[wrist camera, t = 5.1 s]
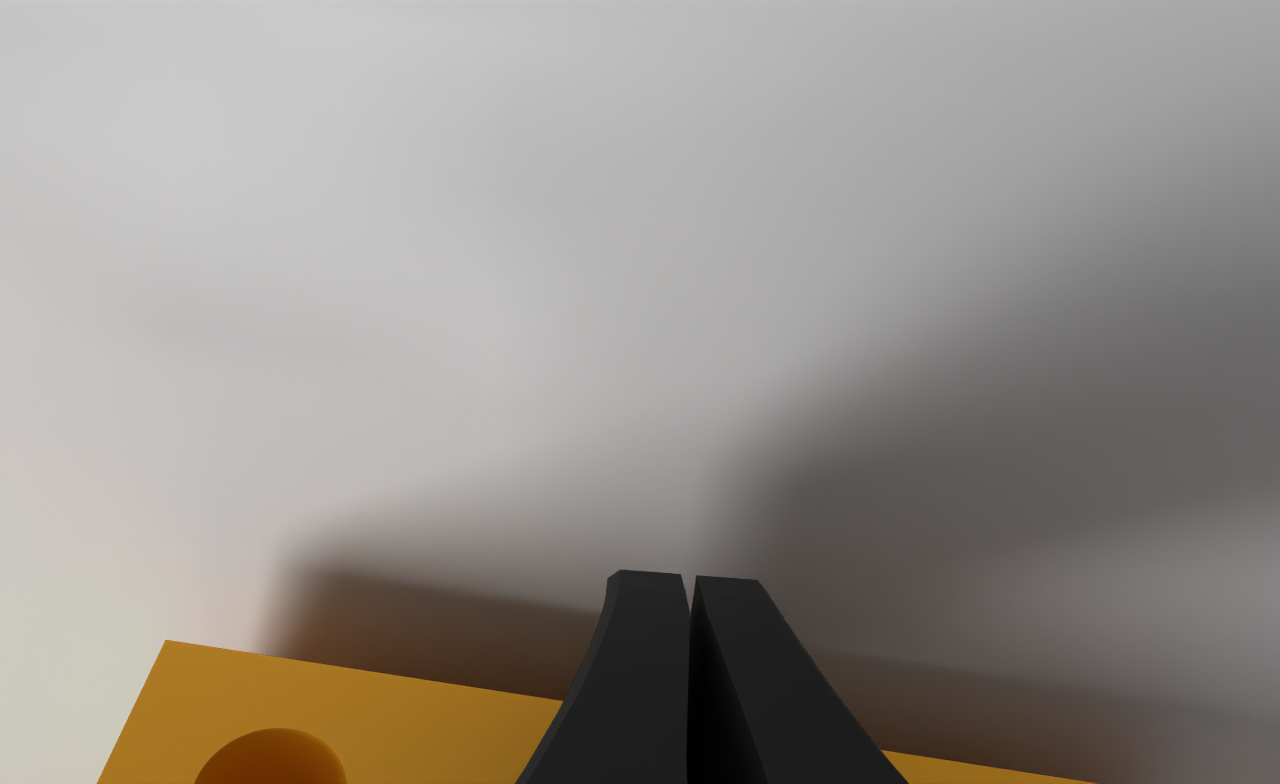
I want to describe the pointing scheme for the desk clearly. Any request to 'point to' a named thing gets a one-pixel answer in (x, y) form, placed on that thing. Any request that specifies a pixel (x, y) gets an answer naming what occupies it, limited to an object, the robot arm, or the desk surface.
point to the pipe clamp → (358, 728)
